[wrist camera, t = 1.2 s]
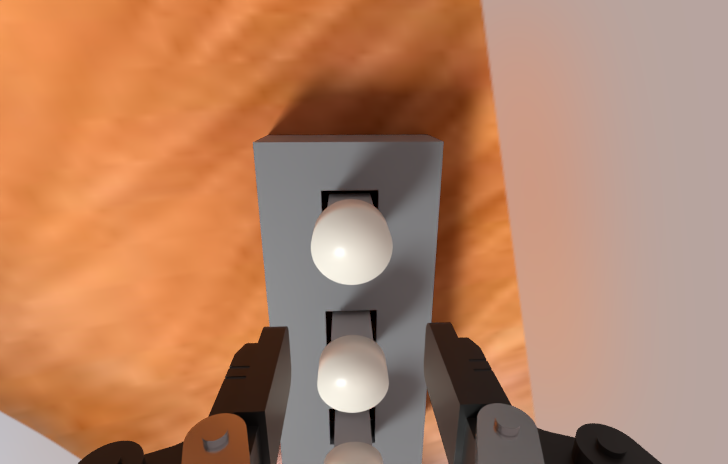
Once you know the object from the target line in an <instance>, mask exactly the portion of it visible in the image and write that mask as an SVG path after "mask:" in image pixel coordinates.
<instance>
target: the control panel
mask: <svg viewBox="0 0 728 464" xmlns="http://www.w3.org/2000/svg"><path fill="white" fill-rule="evenodd" d="M443 144H444V142H443V141H441V140H439V139H436V138H434V137H432V136H429V135H267V136H265V137H263V138H261V139H259V140H257V141H255V142H253V149H254V160H255V171H256V182H257V193H258V204H259V215H260V225H261V236H262V247H263V258H264V269H265V280H266V291H267V302H268V313H269V323H270V327H278V326H287V327H288V330H289V342H290V356H291V386H290V392H289V397H288V403H287V408H286V414H285V419H284V425H283V430H282V435H281V441H280V443H281V454H282V464H324V460H325V457H326V455H327V454H328V453H329V452H330V451H331V450H332V449H333V448H334V436H335V421H330V417H329V409H334V408H332V407H330V406H329V405H327V404H326V403H325V402H324V401H323V400H322V398H321V397H320V395H319V392H318V388H317V381H318V370H319V360H320V356H321V353H322V351H323V350H324V348H325V347H326V346H327V333H326V311H355V310H376V343H377V344H378V345H379V346H380V347H381V349H382V350H383V352H384V355H385V360H386V366H387V372H388V378H389V387H388V391H387V393H386V395H385V397H384V398H383V399H382V400H381V401H380V402H379V403H378V404H377V405H376V406H374V407H375V419H370V425H371V437H372V446H373V447H375V448H376V449H377V450H378V451H379V452H380V454H381V456H382V458H383V464H422V451H423V437H424V422H425V407H426V393H427V386H426V383H425V377H424V349H425V333H426V325H427V323H431V320H432V305H433V290H434V276H435V261H436V246H437V232H438V217H439V203H440V188H441V173H442V159H443ZM330 190H378V210H379V211H380V212H381V214H382V215H383V217H384V218H385V220H386V223H387V226H388V229H389V231H390V234H391V237H392V243H393V249H392V255H391V259H390V261H389V263H388V265H387V267H386V268H385V269H384V271H383V272H382V273H381V274H380V275H378V276H377V277H376V278H374V279H372V280H370V281H368V282H366V283H363V284H358V285H345V284H340V283H337V282H334V281H332V280H330V279H329V278H327V277H326V276H324V275H323V274H322V273H321V272H320V271H319V269H318V268H317V267H316V265H315V263H314V261H313V258H312V254H311V240H312V235H313V231H314V227H315V223H316V221H317V219H318V217H319V216H320V214H321V213H322V193H321V191H330Z"/></svg>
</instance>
